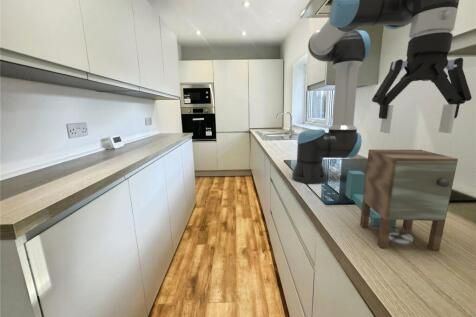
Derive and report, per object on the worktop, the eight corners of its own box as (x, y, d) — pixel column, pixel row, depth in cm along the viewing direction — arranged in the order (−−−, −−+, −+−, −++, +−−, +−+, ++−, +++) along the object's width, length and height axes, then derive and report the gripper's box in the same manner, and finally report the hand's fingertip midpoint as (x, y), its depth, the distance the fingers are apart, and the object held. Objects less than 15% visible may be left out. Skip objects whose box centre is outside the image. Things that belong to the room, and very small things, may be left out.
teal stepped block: (343, 195, 85) (345, 170, 83) (359, 196, 85) (362, 170, 83) (373, 225, 63) (377, 192, 61) (395, 226, 63) (400, 193, 60)
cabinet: (359, 224, 64) (368, 149, 59) (408, 226, 62) (420, 149, 58) (384, 252, 51) (398, 160, 46) (445, 255, 50) (465, 160, 45)
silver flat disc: (379, 233, 60) (379, 228, 60) (402, 233, 59) (403, 228, 59) (392, 246, 54) (393, 240, 54) (418, 247, 54) (419, 241, 53)
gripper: (379, 32, 46) (367, 134, 51) (511, 27, 44) (486, 134, 49) (363, 43, 54) (354, 131, 58) (475, 39, 51) (456, 130, 56)
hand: (414, 132), depth 53 cm, fingers open, 13 cm apart
